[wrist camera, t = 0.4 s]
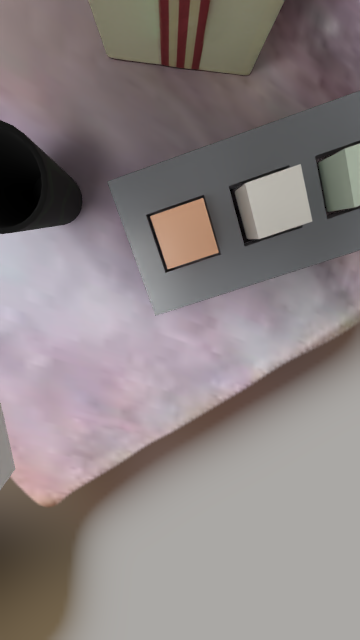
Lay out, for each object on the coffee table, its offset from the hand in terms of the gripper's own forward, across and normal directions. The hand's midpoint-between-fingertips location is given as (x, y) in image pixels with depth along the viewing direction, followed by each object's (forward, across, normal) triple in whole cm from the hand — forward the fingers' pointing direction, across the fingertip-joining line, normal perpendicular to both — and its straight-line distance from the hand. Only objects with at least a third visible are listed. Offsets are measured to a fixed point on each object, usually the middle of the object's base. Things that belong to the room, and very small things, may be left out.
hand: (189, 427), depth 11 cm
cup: (+27, -13, +11) cm, 32 cm away
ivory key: (+23, +9, +9) cm, 27 cm away
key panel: (+26, +9, +9) cm, 29 cm away
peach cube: (+23, +1, +7) cm, 24 cm away
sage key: (+23, +17, +11) cm, 31 cm away
